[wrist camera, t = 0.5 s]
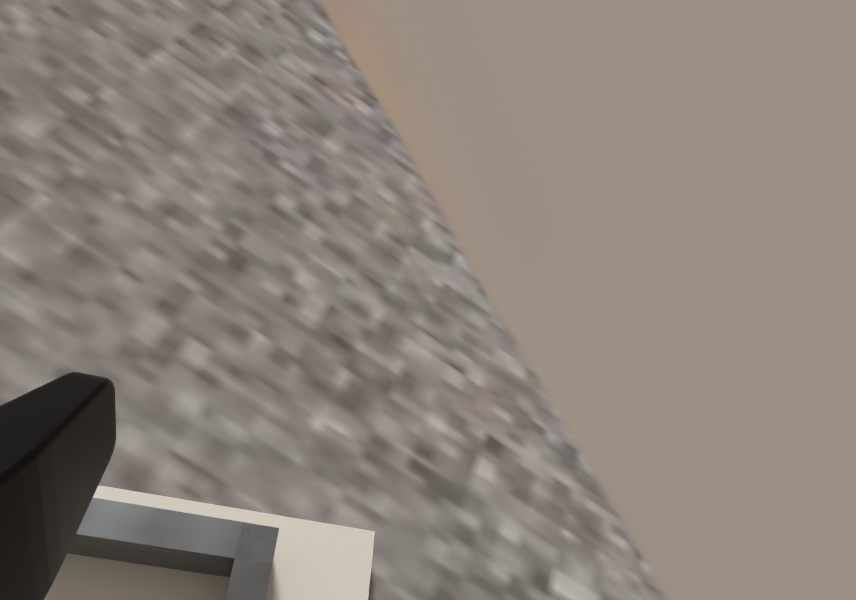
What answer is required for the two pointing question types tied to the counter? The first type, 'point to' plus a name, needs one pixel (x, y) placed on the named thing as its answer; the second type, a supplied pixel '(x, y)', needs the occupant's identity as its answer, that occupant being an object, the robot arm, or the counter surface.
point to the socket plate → (208, 553)
